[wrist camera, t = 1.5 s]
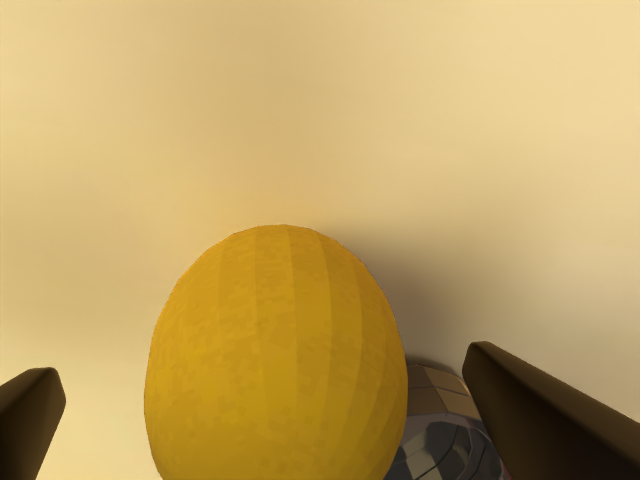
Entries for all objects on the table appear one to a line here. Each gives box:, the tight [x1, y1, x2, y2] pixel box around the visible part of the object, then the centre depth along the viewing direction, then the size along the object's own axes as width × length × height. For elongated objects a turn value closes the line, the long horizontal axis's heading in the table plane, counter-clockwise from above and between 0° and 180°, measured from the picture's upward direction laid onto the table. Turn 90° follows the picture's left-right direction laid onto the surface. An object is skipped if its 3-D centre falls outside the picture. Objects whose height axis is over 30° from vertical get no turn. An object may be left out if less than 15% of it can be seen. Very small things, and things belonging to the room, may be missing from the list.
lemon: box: [144, 225, 408, 480], centre depth 8 cm, size 6×6×8 cm
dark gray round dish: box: [383, 365, 510, 480], centre depth 15 cm, size 9×9×3 cm
